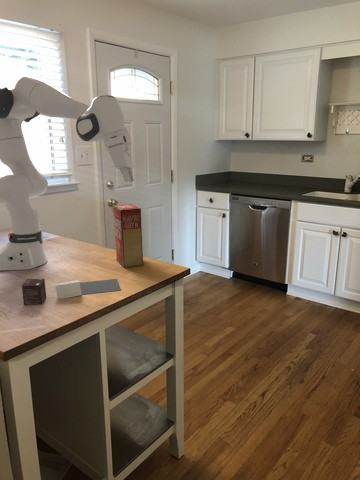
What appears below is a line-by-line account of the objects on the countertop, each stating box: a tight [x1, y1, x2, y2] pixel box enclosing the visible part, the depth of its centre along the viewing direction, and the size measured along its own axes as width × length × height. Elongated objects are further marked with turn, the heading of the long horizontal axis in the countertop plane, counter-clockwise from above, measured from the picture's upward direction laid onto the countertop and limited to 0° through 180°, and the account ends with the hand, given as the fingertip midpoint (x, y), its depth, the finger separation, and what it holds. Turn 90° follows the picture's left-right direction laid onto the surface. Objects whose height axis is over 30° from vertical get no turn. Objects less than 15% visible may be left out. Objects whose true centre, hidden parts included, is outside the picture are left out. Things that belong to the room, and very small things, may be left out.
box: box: [21, 278, 47, 306], centre depth 129 cm, size 6×6×7 cm
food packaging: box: [112, 203, 144, 269], centre depth 168 cm, size 13×9×25 cm
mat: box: [80, 278, 122, 296], centre depth 142 cm, size 16×12×1 cm
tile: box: [54, 279, 83, 300], centre depth 133 cm, size 8×2×5 cm, turn 106°
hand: (129, 181), depth 135 cm, fingers open, 8 cm apart
